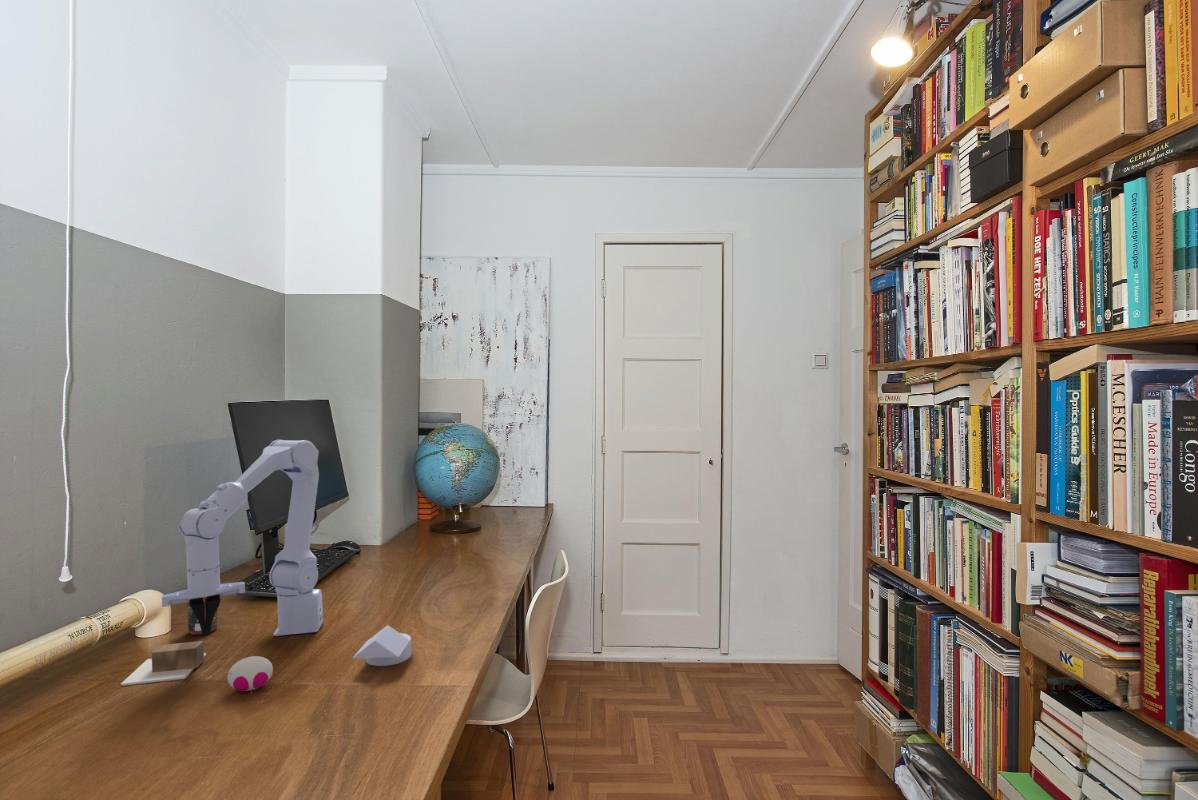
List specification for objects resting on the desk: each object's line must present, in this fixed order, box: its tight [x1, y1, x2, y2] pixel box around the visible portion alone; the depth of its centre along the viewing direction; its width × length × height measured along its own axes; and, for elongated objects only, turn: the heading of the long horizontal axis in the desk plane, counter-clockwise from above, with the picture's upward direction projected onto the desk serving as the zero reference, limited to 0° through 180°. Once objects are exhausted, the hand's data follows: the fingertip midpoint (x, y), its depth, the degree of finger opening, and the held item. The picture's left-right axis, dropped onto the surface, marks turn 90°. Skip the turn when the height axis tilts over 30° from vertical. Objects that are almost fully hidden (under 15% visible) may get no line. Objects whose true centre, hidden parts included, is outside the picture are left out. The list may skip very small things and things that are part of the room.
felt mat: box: [120, 652, 207, 687], centre depth 135 cm, size 11×12×1 cm
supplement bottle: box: [187, 599, 219, 636], centre depth 157 cm, size 6×6×11 cm
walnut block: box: [151, 640, 205, 673], centre depth 136 cm, size 4×4×8 cm
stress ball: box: [226, 655, 274, 695], centre depth 126 cm, size 8×8×7 cm
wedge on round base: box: [352, 624, 412, 667], centre depth 137 cm, size 9×7×13 cm
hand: (205, 634), depth 137 cm, fingers closed
